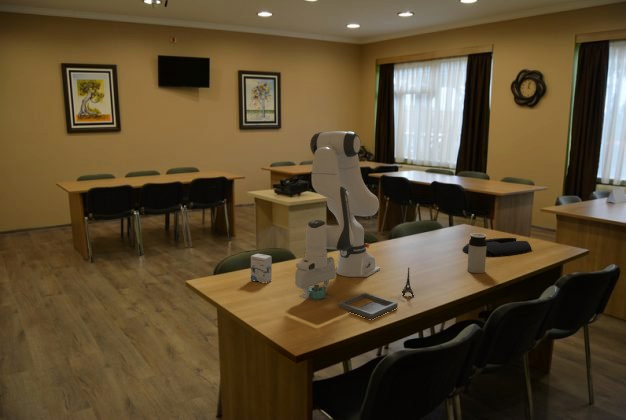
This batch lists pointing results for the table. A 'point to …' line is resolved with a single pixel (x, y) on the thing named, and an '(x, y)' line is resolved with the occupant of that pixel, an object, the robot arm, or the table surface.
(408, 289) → the eiffel tower figurine
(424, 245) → the table surface
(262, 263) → the ink box
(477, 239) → the travel mug
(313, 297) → the ring
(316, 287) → the post stand
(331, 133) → the robot arm
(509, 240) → the black folded towel
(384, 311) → the tray
